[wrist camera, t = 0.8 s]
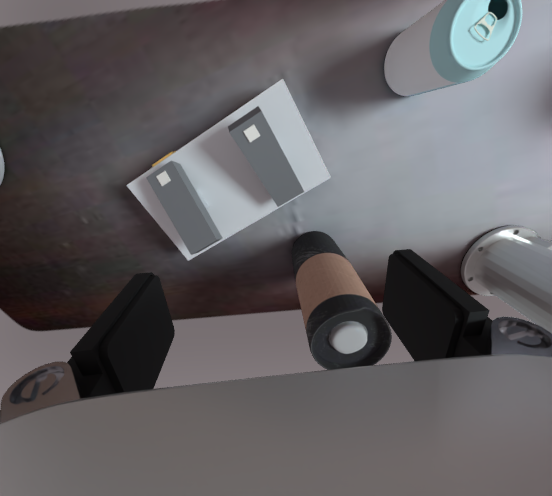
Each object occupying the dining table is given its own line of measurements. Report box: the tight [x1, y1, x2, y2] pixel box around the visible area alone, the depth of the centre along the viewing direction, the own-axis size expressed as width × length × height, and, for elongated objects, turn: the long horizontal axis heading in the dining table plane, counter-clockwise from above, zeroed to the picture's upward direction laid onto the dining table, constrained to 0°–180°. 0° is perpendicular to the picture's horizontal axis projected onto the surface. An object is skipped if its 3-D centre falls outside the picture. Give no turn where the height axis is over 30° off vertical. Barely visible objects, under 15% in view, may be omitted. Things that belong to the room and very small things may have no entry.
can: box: [384, 0, 522, 96], centre depth 26 cm, size 7×7×12 cm
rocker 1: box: [146, 160, 222, 255], centre depth 30 cm, size 4×10×2 cm, turn 30°
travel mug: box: [292, 231, 392, 370], centre depth 32 cm, size 8×8×20 cm
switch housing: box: [126, 79, 331, 261], centre depth 33 cm, size 22×12×6 cm, turn 120°
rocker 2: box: [228, 106, 304, 207], centre depth 28 cm, size 4×10×2 cm, turn 31°
